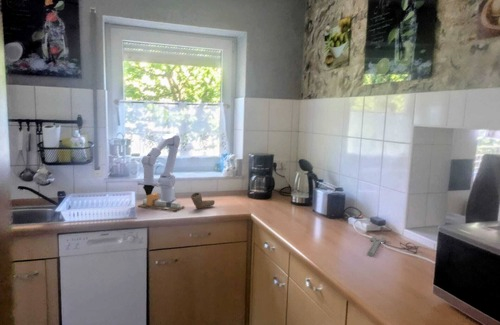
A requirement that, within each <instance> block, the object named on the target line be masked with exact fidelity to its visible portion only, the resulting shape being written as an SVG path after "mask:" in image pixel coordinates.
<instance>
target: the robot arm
mask: <svg viewBox="0 0 500 325" xmlns="http://www.w3.org/2000/svg"><path fill="white" fill-rule="evenodd" d="M180 143H181V138H180V136H179V135H178V134H177V133H176V134H175V133H174V134H172V133H164V134H163V135H162V136H161V140H160V142H159V143H158V145H157V146H156V147H152V148H151V150H150V151H149V152H148V153H147V155H144V156H142V158H141V164H142V167H143V181H140V180H139V181H137V185H138V186H139V185H140V186H142V188H143V190H144V192H145V196H147V195H150V194H153V190H154V188H155V187H156V188H157V187H158V188H159V187H160V199H159V200H163V201H173V202H174V201H175V200H176V196H175V195H176V193H175V192H176V190H175V184H176V176H175V174H174V173H173V172H174V169H175V168H174V167H175V164H176V160H177V156H178V155H177V154H178V152H179V151H178V150H179V146H180ZM166 147H167V148H168V149H169V150H168V154H167V159H166V162H165V167H164V171H163V172H162V173H160V175H159V178H158V180H157V182H155V181H154V179H155V178H154V175H155V174H154V172H155V171H154V166H155V164H156V162H157V160H158V158H159V156H161V154H162V151H163V149H165V148H166Z"/></svg>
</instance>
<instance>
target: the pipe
mask: <svg viewBox="0 0 500 325" xmlns="http://www.w3.org/2000/svg"><path fill="white" fill-rule="evenodd" d="M190 198H191V201H192V203H193V204H194V206H195V208H196V210H199V209H202V208H207V207H212V206H214V205H215V200H214V199H211V200H209V199H206V200H205V199H204V200H203V197H202V193H201V192H194V193H192V194H191V195H190Z"/></svg>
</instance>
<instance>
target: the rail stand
mask: <svg viewBox="0 0 500 325" xmlns="http://www.w3.org/2000/svg"><path fill="white" fill-rule="evenodd" d="M137 207H138V208H142V209H152V210H160V211H169V212H175V213H177V212H179V211H180V210H183V209H185V206H184V205H181V202H179V201H174V200H173V201H163V200H160V199H158V200H153V205H152V206H149V205H147V198H144V199H142V203H140V204H138V205H137Z"/></svg>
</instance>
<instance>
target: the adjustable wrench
mask: <svg viewBox="0 0 500 325" xmlns="http://www.w3.org/2000/svg"><path fill="white" fill-rule="evenodd" d="M381 238H382V239H381ZM381 238H377V237H376V236H372V237H371V238H370V239H369V240H370V242H372V245H371V246H370V248H369V249H368V251H367V252H366V256H367V255H368V257H372V258H373V257H374V256H375V254H376V252H377V250H378V249H379V246H380V245H381V244H380V243H381V242H386V243H387V238H385V237H383V236H381ZM373 242H374V243H373ZM379 244H380V245H379Z"/></svg>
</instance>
